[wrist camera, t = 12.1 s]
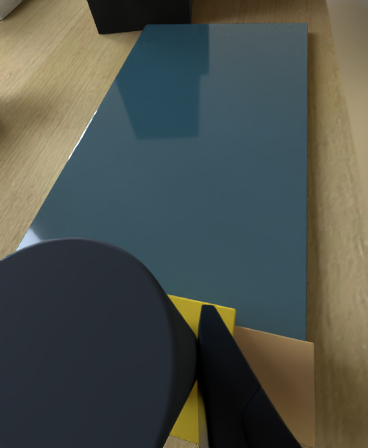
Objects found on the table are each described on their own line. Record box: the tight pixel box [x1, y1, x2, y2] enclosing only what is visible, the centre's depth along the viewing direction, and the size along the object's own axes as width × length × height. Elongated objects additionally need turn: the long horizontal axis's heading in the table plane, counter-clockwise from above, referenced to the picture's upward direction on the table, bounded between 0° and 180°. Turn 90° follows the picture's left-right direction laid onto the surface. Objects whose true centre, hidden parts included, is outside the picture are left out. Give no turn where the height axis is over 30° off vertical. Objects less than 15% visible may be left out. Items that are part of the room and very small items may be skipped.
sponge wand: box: [0, 237, 236, 448], centre depth 8 cm, size 5×5×12 cm
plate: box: [15, 23, 308, 341], centre depth 22 cm, size 38×20×1 cm, turn 167°
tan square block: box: [233, 326, 316, 447], centre depth 12 cm, size 4×4×2 cm
